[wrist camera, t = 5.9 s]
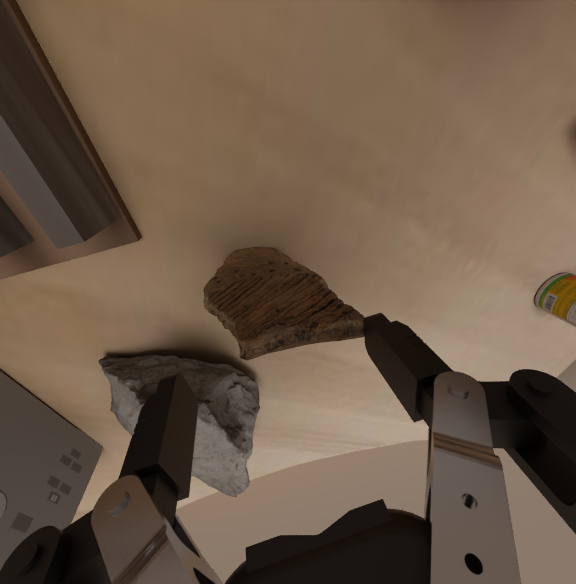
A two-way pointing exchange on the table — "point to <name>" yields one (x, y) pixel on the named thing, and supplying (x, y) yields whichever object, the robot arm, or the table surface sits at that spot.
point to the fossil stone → (211, 411)
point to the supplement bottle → (559, 297)
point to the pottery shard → (277, 304)
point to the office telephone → (38, 467)
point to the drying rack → (48, 165)
